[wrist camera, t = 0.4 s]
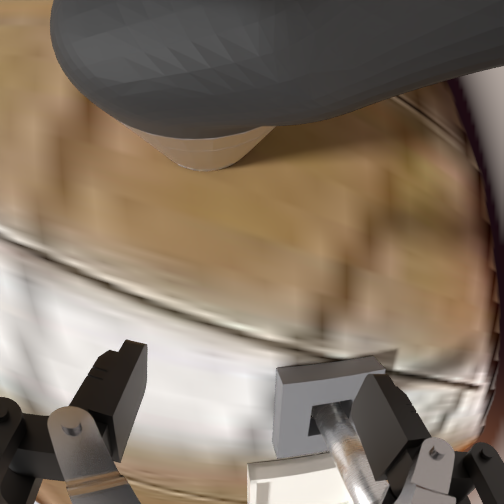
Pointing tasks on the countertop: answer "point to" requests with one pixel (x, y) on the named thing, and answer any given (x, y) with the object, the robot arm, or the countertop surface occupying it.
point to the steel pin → (347, 453)
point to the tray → (296, 482)
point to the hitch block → (314, 400)
